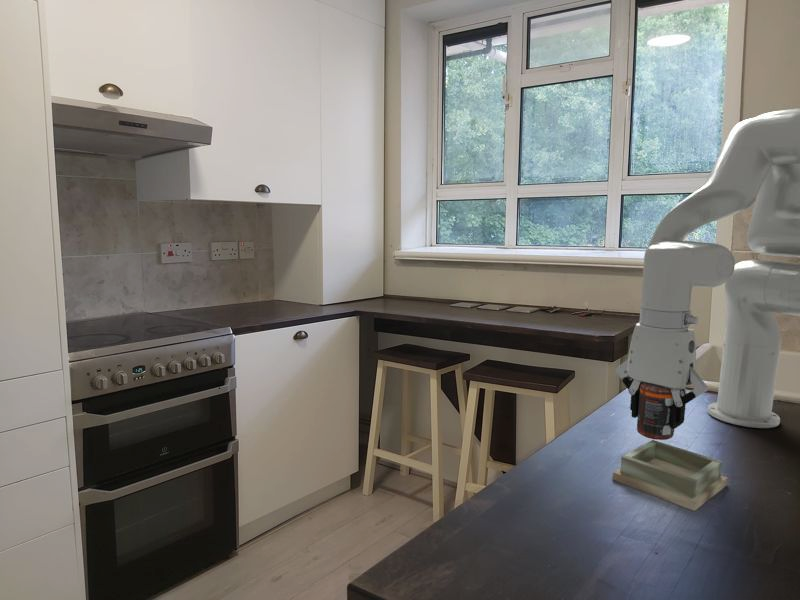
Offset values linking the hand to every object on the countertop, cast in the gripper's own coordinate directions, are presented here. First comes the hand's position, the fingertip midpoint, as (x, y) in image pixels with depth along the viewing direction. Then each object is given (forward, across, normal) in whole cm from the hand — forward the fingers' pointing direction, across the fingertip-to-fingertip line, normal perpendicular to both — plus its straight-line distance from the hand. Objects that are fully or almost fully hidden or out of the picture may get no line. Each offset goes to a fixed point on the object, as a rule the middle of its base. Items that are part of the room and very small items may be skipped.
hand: (656, 420), depth 101 cm
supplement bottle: (+3, 0, 0) cm, 3 cm away
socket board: (+4, -8, +12) cm, 15 cm away
